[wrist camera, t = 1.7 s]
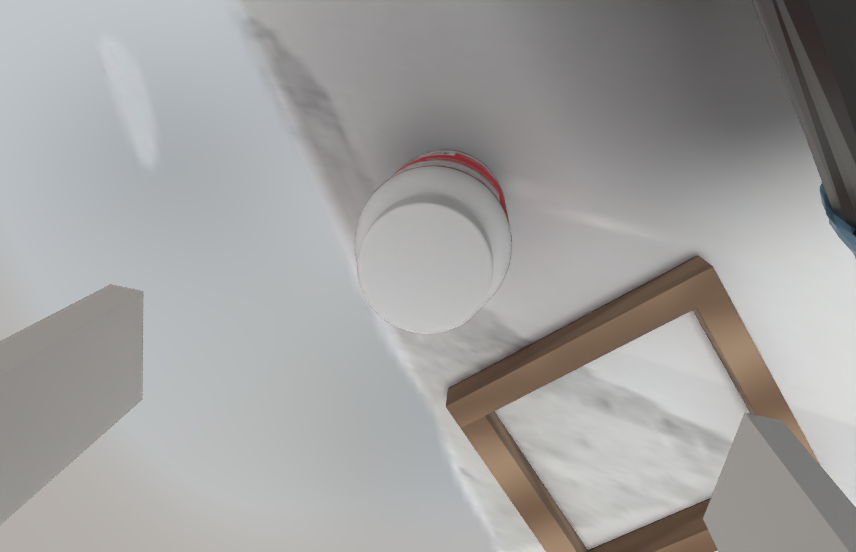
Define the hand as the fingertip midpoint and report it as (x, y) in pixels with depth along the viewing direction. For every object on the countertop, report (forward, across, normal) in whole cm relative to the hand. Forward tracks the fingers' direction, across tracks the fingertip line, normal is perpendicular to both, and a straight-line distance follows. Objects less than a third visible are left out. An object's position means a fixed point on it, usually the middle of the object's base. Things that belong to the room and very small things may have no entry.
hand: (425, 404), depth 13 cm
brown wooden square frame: (+19, +11, -10) cm, 24 cm away
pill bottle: (+19, -1, 0) cm, 19 cm away
